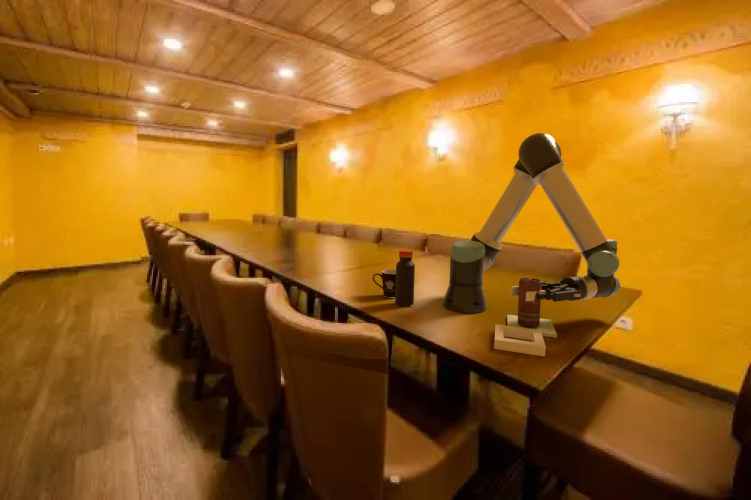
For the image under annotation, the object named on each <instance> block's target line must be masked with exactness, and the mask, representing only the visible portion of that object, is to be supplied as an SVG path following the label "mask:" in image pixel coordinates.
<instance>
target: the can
mask: <svg viewBox="0 0 751 500" xmlns="http://www.w3.org/2000/svg"><path fill="white" fill-rule="evenodd" d="M541 282H542V281H541V279H538V278H530V277H524V278H523V277H522V278H520V279H519V281H518V286H519V295H517V296H518V298H517V299H518V301H517V302H518V304H517V316H518V324H519V325H521V326H524V327H531V328H535V327H538V326H539V325H540V319H541V305H542V304H541V303H542V300H540V299H537V294H539V291H541ZM529 291H532V292H537V291H538V292H537V293H536V294H535V298H534V301H525V300H526V292H529Z"/></svg>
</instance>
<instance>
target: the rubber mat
mask: <svg viewBox="0 0 751 500" xmlns="http://www.w3.org/2000/svg"><path fill="white" fill-rule="evenodd" d="M506 320H507V325H506V326H513V327H520V328H528V329H535V330H541V333H542V336H543V337H549V338H556V339H557V337H558V334H557V332H556V328H555V326H554V324H553V321H552V319H547V318H540V325H539V326H538V327H535V328H531V327H524V326H521V325H519V324H518V315H516V314H515V315H513V314H507V315H506Z"/></svg>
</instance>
